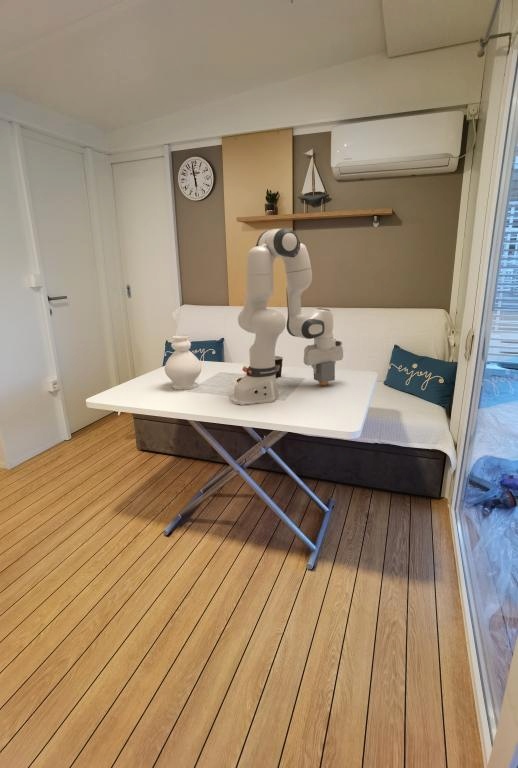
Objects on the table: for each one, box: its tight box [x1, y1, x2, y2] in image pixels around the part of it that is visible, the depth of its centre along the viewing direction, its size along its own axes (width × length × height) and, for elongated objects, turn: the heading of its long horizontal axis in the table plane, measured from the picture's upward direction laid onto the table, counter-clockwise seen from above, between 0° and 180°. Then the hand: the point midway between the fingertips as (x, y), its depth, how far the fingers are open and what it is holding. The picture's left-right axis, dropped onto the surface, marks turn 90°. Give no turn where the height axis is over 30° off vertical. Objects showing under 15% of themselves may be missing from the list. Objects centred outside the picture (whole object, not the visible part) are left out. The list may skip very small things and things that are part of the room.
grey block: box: [313, 361, 336, 383], centre depth 195 cm, size 7×7×9 cm
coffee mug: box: [275, 355, 284, 379], centre depth 214 cm, size 12×9×10 cm
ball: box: [317, 381, 329, 386], centre depth 196 cm, size 5×5×5 cm
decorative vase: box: [164, 334, 203, 390], centre depth 200 cm, size 18×18×25 cm
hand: (323, 371), depth 195 cm, fingers closed on grey block, 7 cm apart
